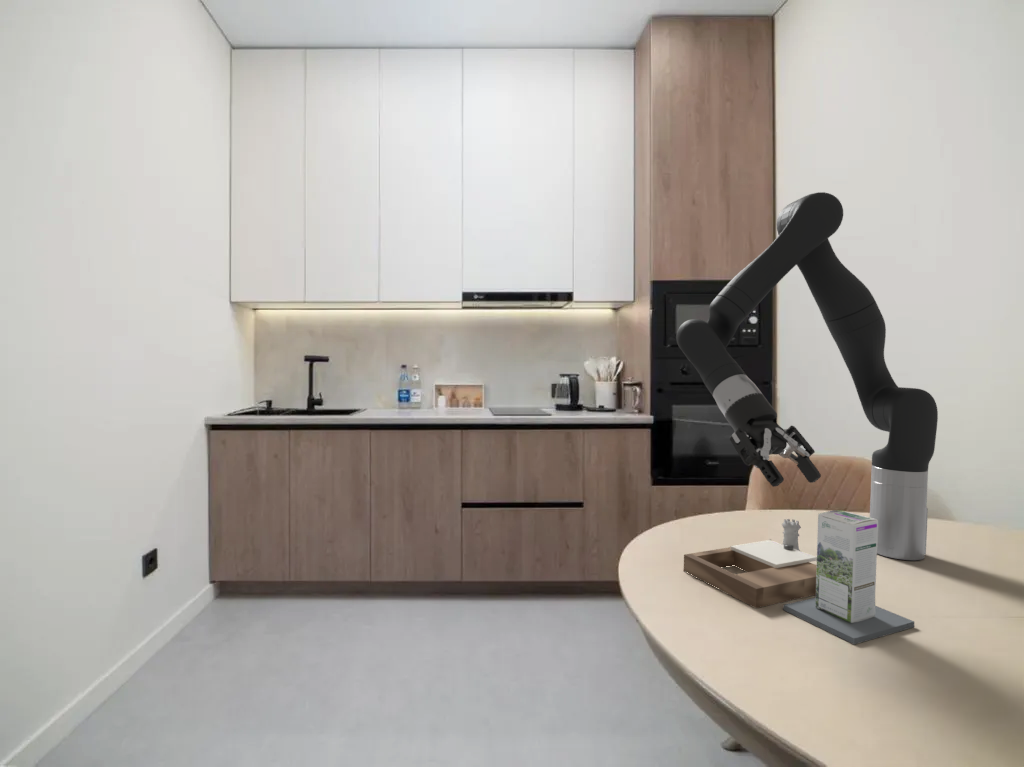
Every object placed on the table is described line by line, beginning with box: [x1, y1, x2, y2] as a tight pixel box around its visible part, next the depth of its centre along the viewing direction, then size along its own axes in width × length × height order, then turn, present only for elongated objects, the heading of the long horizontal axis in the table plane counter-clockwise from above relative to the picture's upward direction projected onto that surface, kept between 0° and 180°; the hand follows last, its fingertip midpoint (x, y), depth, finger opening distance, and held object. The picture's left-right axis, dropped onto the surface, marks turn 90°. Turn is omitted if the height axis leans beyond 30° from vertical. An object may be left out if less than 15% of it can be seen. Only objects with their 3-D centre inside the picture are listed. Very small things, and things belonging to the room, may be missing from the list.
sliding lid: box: [729, 539, 817, 568], centre depth 98 cm, size 10×10×1 cm
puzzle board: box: [683, 546, 817, 609], centre depth 94 cm, size 18×16×3 cm
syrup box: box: [815, 509, 878, 623], centre depth 80 cm, size 6×6×14 cm
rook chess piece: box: [781, 518, 802, 551], centre depth 103 cm, size 4×4×8 cm
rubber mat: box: [783, 596, 915, 645], centre depth 80 cm, size 13×11×1 cm
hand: (797, 481), depth 88 cm, fingers open, 8 cm apart
